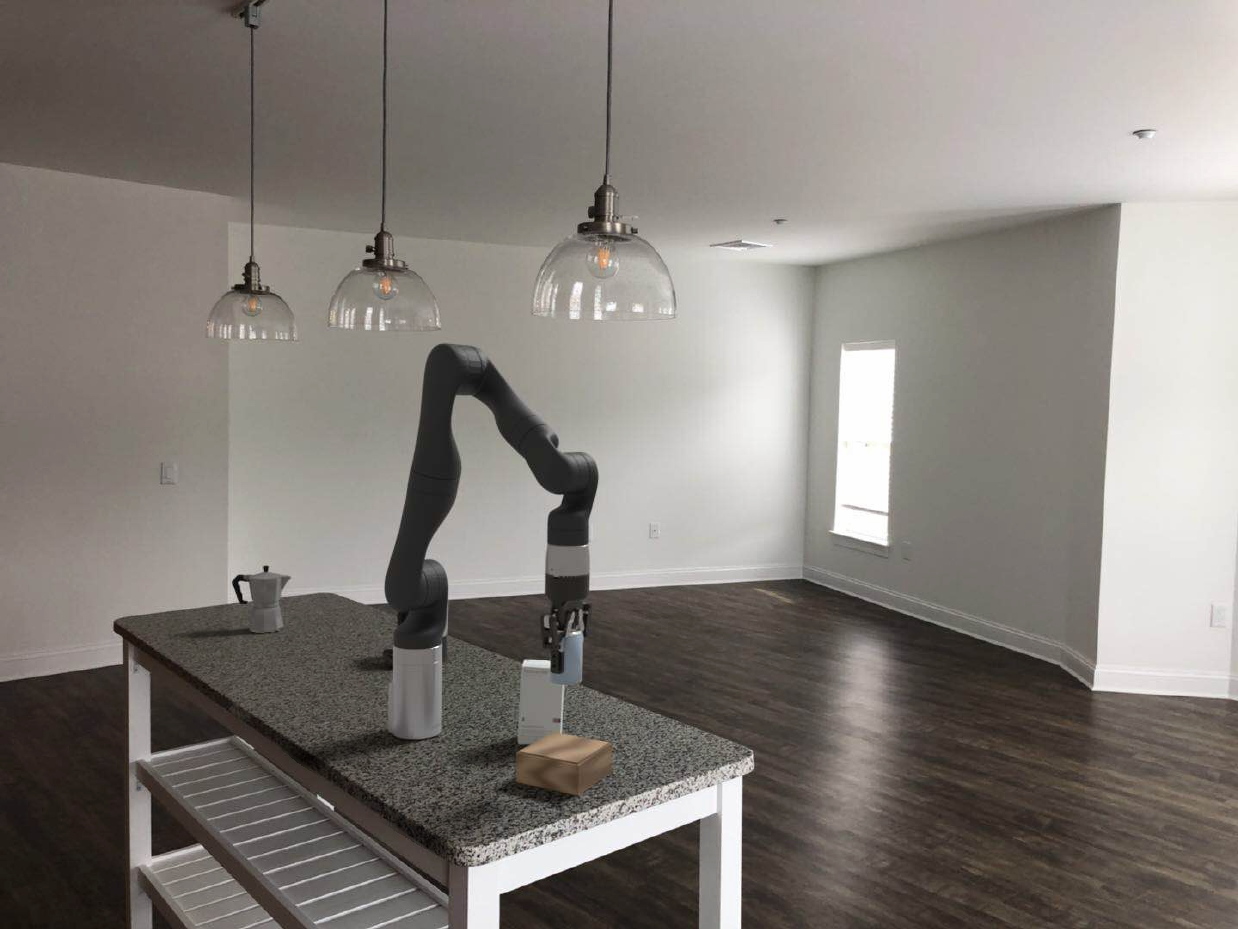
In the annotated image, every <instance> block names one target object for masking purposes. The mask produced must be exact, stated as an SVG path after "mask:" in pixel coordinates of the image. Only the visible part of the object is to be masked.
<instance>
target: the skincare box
mask: <svg viewBox="0 0 1238 929" xmlns="http://www.w3.org/2000/svg"><path fill="white" fill-rule="evenodd" d="M520 670H521V671H520V685H519V686H520V688H519V689H520V690H519V708H518V710H519V711H518V726H517V743H518V745H531V744H533V743H534V742H536V741H538V740H540V739H541V738H543V737H545V736H547V735H548V734H550V733H552V732H556V733H561V734H563V717H564V697H565V695H564V694H565V685H560V684H555V683H552V682H551V681H550V660H547V659H546V660H543V659H523V662H522V664H521V669H520Z"/></svg>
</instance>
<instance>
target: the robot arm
mask: <svg viewBox="0 0 1238 929" xmlns="http://www.w3.org/2000/svg"><path fill="white" fill-rule="evenodd" d="M428 353H429V354H428V355H427V358H426V361H425V365H424V372H423V380H422V389H421V390H422V391H421V393H422V394H421V402H420V414H419V421H418V428H417V434H416V440H415V441H416V442H415V447H414V452H413V457H412V461H411V465H410V470H409V475H408V480H407V481H408V482H407V486H406V487H407V488H406V493H405V494H406V495H405V499H404V503H403V504H404V505H403V509H402V514H401V518H400V523H399V528H398V531H397V536H396V539H395V543H394V546H393V550H392V552H391V556H390V560H389V562H388V566H387V570H386V573H385V577H384V587H383V588H384V597H385V599H386V602H387V604H388V606H389V608H391V609H392V610H393V611H395V612H397V613H398V612H409V611H410V612H409V615H408V617H407V619H406V620H405V621H404V622H403V623H402V624H401V625H400V626H398V625H397V626H396V628H395V629H394V631H393V634H392V635H393V636H392V644H393V646H392V650H393V665H392V682H390V683H388V709H387V710H388V717H387V718H388V722H387V723H388V731H387V733H390V734H392V735H393V736H395V737H396V738H399V739H404V740H425V739H429V738H433V737H436V736H438V735H439V734H441V733H442V721H443V720H442V717H443V716H442V713H443V712H442V709H443V708H442V707H443V705H442V704H443V702H442V701H443V700H442V699H443V698H442V695H443V693H442V692H443V687H442V686H443V661H442V636H443V633H444V631H445V628H446V623H447V607H448V608H449V602H448V600H449V580H448V579H449V578H448V575H447V572H446V570H445V568H444V567H443V565H442V564H441V563H440V562H438V560H435V559H432V558H431V559H430V558H426V555H427V551H428V548H429V545H430V543H431V541H432V540H433V538H434V535H435V534H436V533H437V531H438V530H439V528H440V527H441V525H442V524H443V522H444V521H445V520H446V518H447V517H448V515H449V513H450V512H451V510H452V508H453V506H454V504H455V501H456V499H457V495H458V490H459V485H460V480H461V476H462V460H461V455H460V452H459V449H458V446H457V442H456V440H455V436H454V433H453V428H452V418H453V410H454V404H455V400H456V396H464V397H466V396H471V397H473V398H475V399H477V400H478V401H479V402H481V403H482V404H484V405H485V406H486V407H487V408H488V409H489V410H490V412H491V413H492V415H493V417H494V421H495V424H496V428H497V430H498V432H499V434H500V435H501V437H502V438H503V439H504V440H505V442H507V443H508V444H509V446H510V447H512V448H513V450H515V451H516V453H517V454H518V455H520V456H521V457H522V459H524V460H525V462H526V464H527V466H528V468H529V469H530V471H531V473H532V475H533V476H534V478H535V480H536V481H537V483H538V485H539V486H541V487H542V488H543V490H545V491H547V492H548V493H550V494H554V495H558V496H562V499H561V502H560V505H559V506H558V507H555V508H553V509H552V510H551V511H550V512H548V515H547V522H546V523H547V525H546V526H547V527H546V550H545V557H544V558H545V559H544V560H545V561H544V596H545V598H546V599H548V600H550V602H551V604H550V609H549V610H550V611H549V613H548V614H540V617H539V624H540V625H539V626H540V634H541V635H540V636H541V644H542V649H543V650H547V651H550V656H551V663H550V671H551V672H552V673H555V674H562V673H563V672H564V652H563V651H564V647H565V640H566V639H568V638H569V635H570V630H571V629H574V630H580V631H581V633H583V643H584V642H585V638H586V639H588V638H589V636H590V628H591V618H592V609H593V608H592V607H593V605H592V603H589V602H583V601H586V600H587V599H588V598H589V597H590V576H591V574H590V572H591V571H590V569H591V568H590V566H591V565H590V564H591V563H590V562H591V557H590V556H591V555H590V549H589V546H590V545H589V543H590V541H589V538H590V537H589V536H590V517H591V513H592V510H593V507H594V503H595V498H596V496H597V491H598V486H599V480H600V479H599V478H600V477H599V476H600V475H599V469H598V465H597V463H596V460H595V459H594V458H593V456H591V455H590V454H589V453H587V452H584V451H570V452H568V451H567V452H565V451H564V452H562V451H560V450H559V449H558V448H559V445H560V442H559V441H560V440H559V437H558V435H557V433H556V432H555V431H554V430H553V429H552V428H551V427H550V426H549V425H548V423H546V422H545V421H544V420H543V419H542V418H541V417H540V416H539V415H537V414H536V413H535V412H534V411H533V410H532V409H531V408H530V407H529V406H528V405H527V404H526V403H525V401H523V399H521V397H520V396H519V395H518V394H517V393H516V391H515V390H514V389H513V388H512V387H511V385H510V384H509V383H508V381H507V379H505V377H504V376H503V374H502V373H501V372H500V370H499V369H498V368H497V366H496V365H495V364H494V362H493V361H492V359H491V358H489V356H488V355H487V354H486V353H485V351H483V350H482V349H481V348H479V347H477V346H473V345H468V344H465V345H464V344H457V343H443V342H442V343H438V344H436V345H435V346H434V347H433V348H432V349H431V350H430V352H428ZM557 631H564V632H562V633H560V632H557ZM558 637H560V642H559V643H558Z"/></svg>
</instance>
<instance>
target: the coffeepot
mask: <svg viewBox="0 0 1238 929" xmlns="http://www.w3.org/2000/svg"><path fill="white" fill-rule="evenodd" d="M269 569H270V566H269V565H263V566H262V570H263V571H262V572H259V573H255V574H237V575H236V576H235V577H234V578H233V579H232V581H231V585H232V588H233V590H234V592H235V595H236V598H237V601H238V603H239V604H240V605H248V602H249V601H248V600H244V598H243V596H244V595H243V593H242V591H241V585H240V583H239V582H244V583H245V582H246V583H248V584H249V586H248V587H249V590H250V592H249V593H250V597H251V601H253V603H252V604H253V607H251V612H250V618H249V623H248V628H250V629H251V630H256V631H268V630H276V629H279V628H281V627H284V622H283V616H282V611H281V606H280V602H279V601H280V600H281V598H282V592H283V590H284V588H285V587H286V585H287V583H288V582H289V580H291V579H292V577H291V576H290V575H286V574H281V573H276V572H271V571H270V570H269Z"/></svg>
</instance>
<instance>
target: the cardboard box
mask: <svg viewBox="0 0 1238 929" xmlns="http://www.w3.org/2000/svg"><path fill="white" fill-rule="evenodd" d="M612 767H613V743H612V742H611V743H610V742H609V741H604V740H598V739H592V738H587V737H583V736H576V735H571V734H566V733H562V734H561V733H556V732H552V733H550V734H548V735H547V736H545V737H543V738H541V739H540V740H538V741H536V742H534V743H533V744H528V745H527V746H526V747H523V748H522V749H520V750H518V751H517V752H516V753H515V783H519V784H522V785H527V786H528V785H529V786H531V787H532V786H533V787H537V788H542V789H546V790H550V791H554V792H555V791H556V792H559V793H564V794H569V795H574V796H580V795H581V794H582V793H584V792H585V791H587V790H588V789H590V788H591V787H592V786H594V785H596V784H597V783H598V782H599V781H602V779H604V778H605V777H607V776H608V775H610V774H611V773H612V772H613V768H612Z"/></svg>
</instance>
